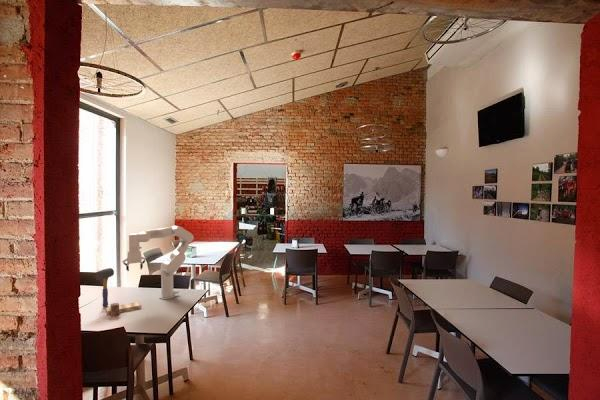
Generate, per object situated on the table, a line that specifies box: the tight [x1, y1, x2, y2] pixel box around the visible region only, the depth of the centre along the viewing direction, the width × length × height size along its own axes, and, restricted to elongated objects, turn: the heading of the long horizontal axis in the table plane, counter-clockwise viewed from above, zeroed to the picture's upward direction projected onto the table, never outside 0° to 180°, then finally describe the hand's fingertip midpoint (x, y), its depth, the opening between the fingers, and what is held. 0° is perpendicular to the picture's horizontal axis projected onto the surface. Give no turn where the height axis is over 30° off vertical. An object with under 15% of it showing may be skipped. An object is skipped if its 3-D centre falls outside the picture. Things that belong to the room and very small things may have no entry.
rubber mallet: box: [94, 267, 115, 308], centre depth 255 cm, size 12×8×30 cm, turn 167°
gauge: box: [110, 302, 120, 317], centre depth 242 cm, size 5×14×8 cm, turn 36°
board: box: [105, 301, 142, 316], centre depth 249 cm, size 23×10×3 cm, turn 126°
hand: (134, 269), depth 259 cm, fingers open, 9 cm apart
